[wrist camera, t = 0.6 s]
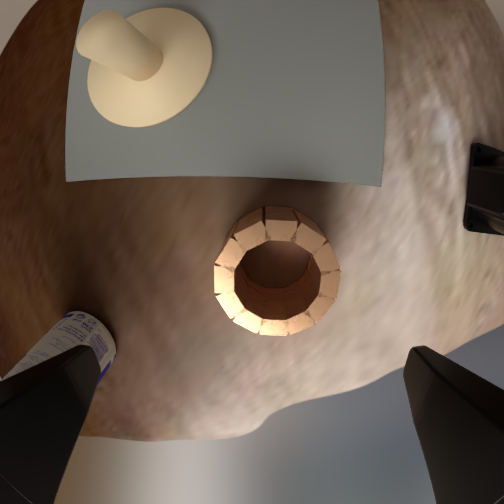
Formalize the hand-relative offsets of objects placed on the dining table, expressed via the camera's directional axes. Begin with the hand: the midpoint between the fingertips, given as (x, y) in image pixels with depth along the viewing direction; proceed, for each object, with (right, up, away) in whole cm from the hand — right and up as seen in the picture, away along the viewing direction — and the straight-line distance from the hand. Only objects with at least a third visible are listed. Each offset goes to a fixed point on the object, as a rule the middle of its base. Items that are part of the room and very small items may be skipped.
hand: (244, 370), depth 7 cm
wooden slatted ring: (+2, +3, +12) cm, 12 cm away
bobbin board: (-2, +14, +8) cm, 16 cm away
